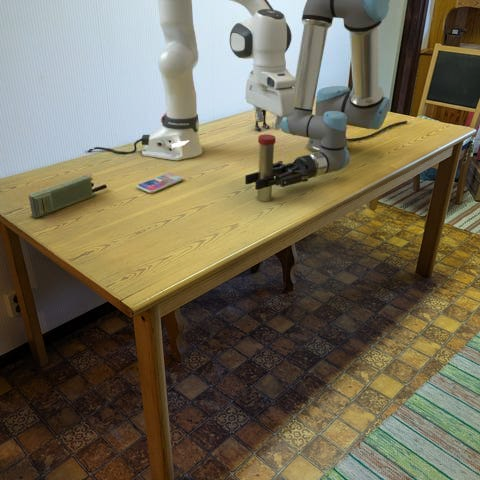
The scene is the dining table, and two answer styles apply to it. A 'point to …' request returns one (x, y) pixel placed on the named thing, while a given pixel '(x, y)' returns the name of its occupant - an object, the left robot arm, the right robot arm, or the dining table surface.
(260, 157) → the olive cylindrical rod
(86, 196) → the handheld radio
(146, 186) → the smartphone
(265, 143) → the lid
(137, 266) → the dining table surface
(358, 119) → the right robot arm
